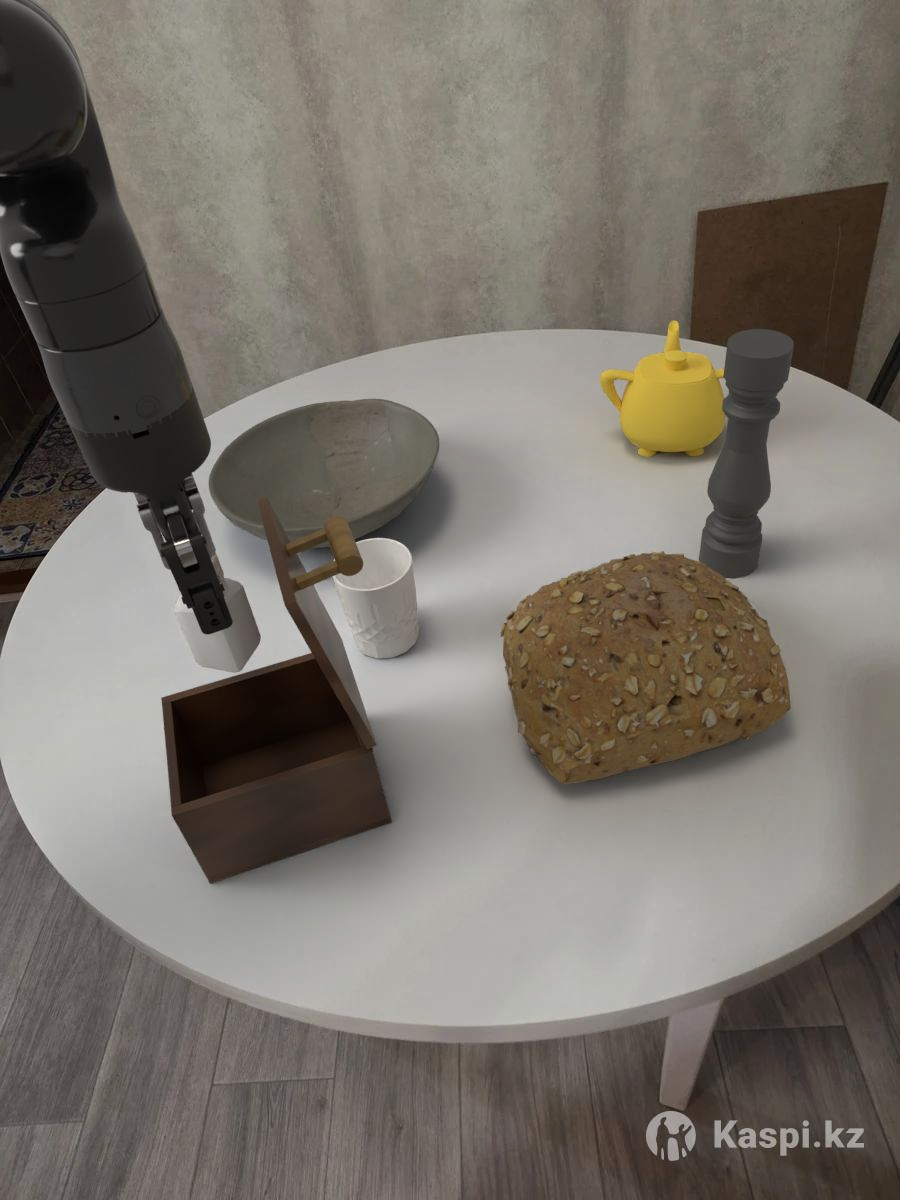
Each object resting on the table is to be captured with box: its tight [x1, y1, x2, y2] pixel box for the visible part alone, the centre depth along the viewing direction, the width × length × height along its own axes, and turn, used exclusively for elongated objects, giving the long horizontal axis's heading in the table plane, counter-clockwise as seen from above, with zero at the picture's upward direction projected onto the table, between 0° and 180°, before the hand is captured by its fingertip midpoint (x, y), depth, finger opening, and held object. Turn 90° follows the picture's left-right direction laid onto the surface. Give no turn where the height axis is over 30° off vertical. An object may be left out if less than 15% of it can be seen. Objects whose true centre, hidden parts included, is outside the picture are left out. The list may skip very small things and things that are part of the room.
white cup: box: [332, 537, 420, 660], centre depth 87 cm, size 8×8×10 cm
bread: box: [500, 550, 792, 784], centre depth 77 cm, size 24×21×12 cm
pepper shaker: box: [174, 551, 262, 674], centre depth 63 cm, size 4×4×10 cm
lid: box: [257, 497, 377, 749], centre depth 65 cm, size 16×13×6 cm
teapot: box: [599, 319, 729, 458], centre depth 108 cm, size 14×14×12 cm
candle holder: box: [698, 328, 795, 579], centre depth 85 cm, size 6×6×25 cm
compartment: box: [160, 652, 393, 884], centre depth 73 cm, size 16×13×10 cm
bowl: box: [208, 398, 440, 549], centre depth 105 cm, size 27×28×8 cm
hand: (209, 603), depth 63 cm, fingers closed on pepper shaker, 5 cm apart
